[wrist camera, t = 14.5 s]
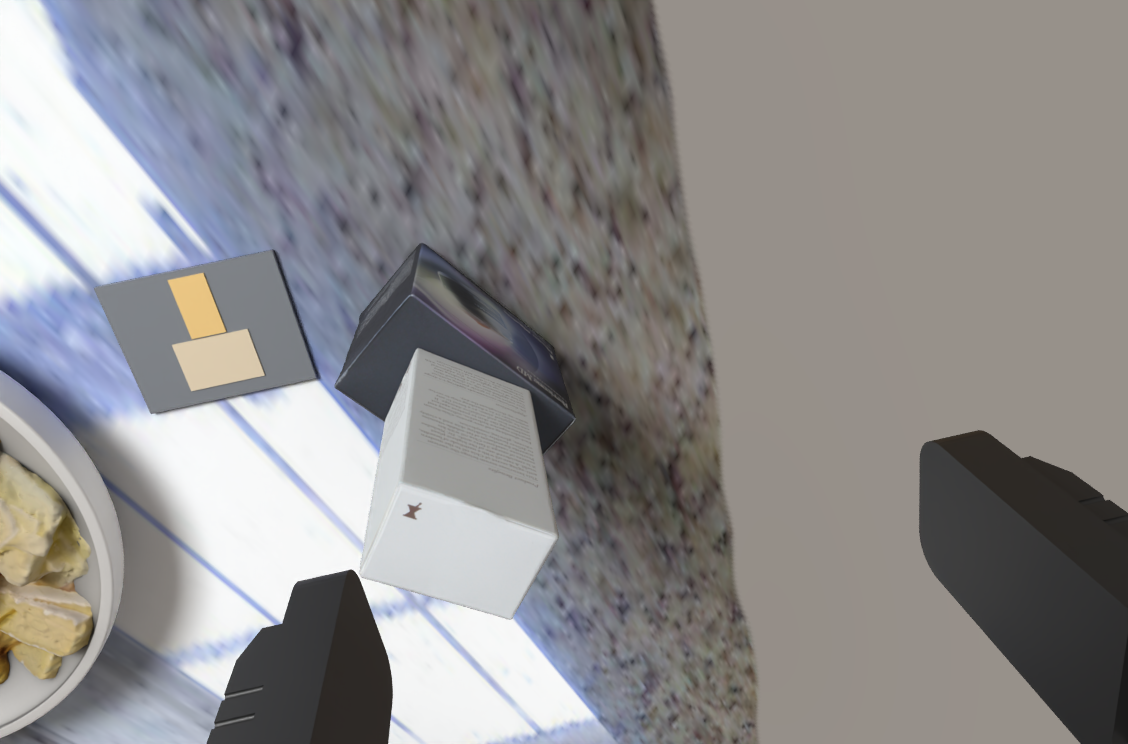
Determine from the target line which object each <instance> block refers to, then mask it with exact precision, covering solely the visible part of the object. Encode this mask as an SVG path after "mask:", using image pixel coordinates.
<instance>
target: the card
mask: <svg viewBox="0 0 1128 744" xmlns="http://www.w3.org/2000/svg"><path fill="white" fill-rule="evenodd" d="M94 290H95V292H96V294H97V296H98V299H99V301H100V303H101V305H102V307H103V310H104V312H105V314H106V316H107V318H108V321H109V323H110V325H111V327H112V329H113V332H114V334H115V336H116V338H117V340H118V343H119V345H120V347H121V349H122V351H123V354H124V356H125V358H126V360H127V362H128V365H129V367H130V369H131V371H132V373H133V376H134V378H135V380H136V382H137V384H138V387H139V389H140V391H141V393H142V395H143V398H144V400H145V402H146V404H147V406H148V409H149V411H150V413H151V414H153V413H158V412H162V411H167V410H172V409H176V408H181V407H186V406H190V405H195V404H199V403H204V402H209V401H213V400H218V399H223V398H227V397H232V396H236V395H241V394H246V393H250V392H255V391H260V390H264V389H269V388H274V387H278V386H283V385H287V384H292V383H297V382H301V381H306V380H311V379H315V378H317V374H316V371H315V369H314V366H313V363H312V360H311V357H310V354H309V351H308V348H307V345H306V343H305V340H304V337H303V334H302V331H301V328H300V325H299V322H298V320H297V317H296V314H295V311H294V308H293V305H292V302H291V299H290V297H289V294H288V291H287V288H286V285H285V282H284V279H283V276H282V274H281V271H280V268H279V265H278V262H277V259H276V256H275V253H274V250H269V251H264V252H259V253H254V254H250V255H245V256H240V257H235V258H230V259H226V260H221V261H216V262H211V263H207V264H202V265H197V266H192V267H188V268H183V269H178V270H173V271H169V272H164V273H159V274H154V275H150V276H145V277H140V278H135V279H131V280H126V281H121V282H116V283H111V284H107V285H102V286H97V287H95V288H94Z"/></svg>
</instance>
